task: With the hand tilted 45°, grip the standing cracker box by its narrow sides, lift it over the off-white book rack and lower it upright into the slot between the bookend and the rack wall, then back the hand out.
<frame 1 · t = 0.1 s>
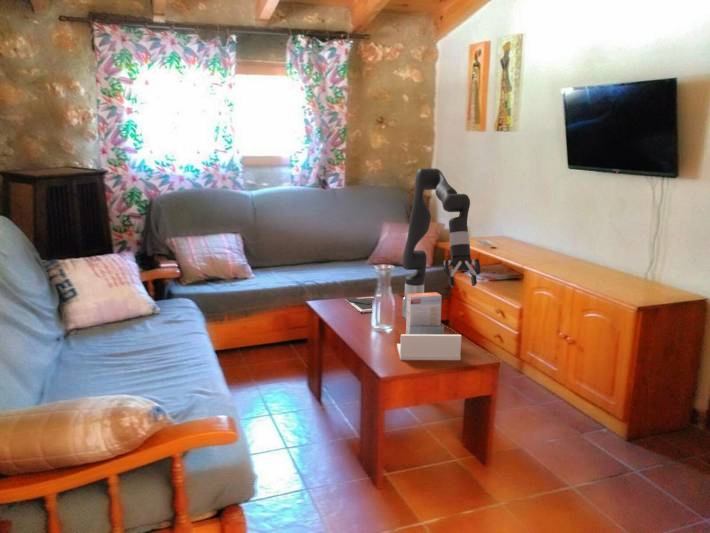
hand: (463, 286, 223), 31 cm above the table, tool tilted 20°, fingers open, 8 cm apart
bookend: (426, 335, 244), point 6 cm above the table
book rack: (427, 353, 240), on the table
cracker box: (422, 340, 254), on the table
picture frame: (366, 307, 301), on the table
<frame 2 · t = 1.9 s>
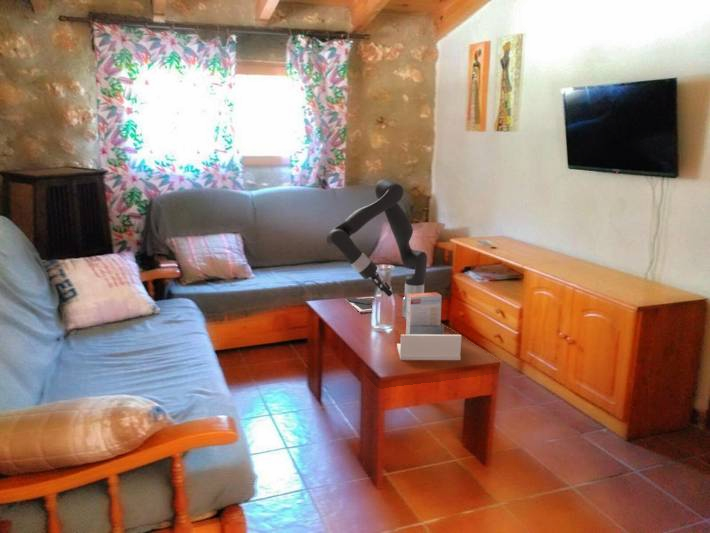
hand: (390, 292, 248), 22 cm above the table, tool tilted 45°, fingers open, 8 cm apart
nothing on the table moved.
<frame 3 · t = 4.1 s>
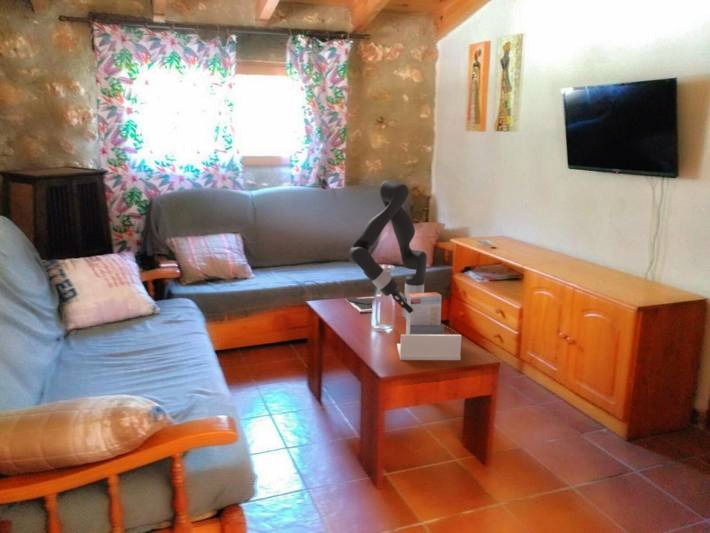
hand: (410, 308, 251), 14 cm above the table, tool tilted 45°, fingers open, 8 cm apart
cracker box: (422, 340, 254), on the table, touching gripper
everything else where it was.
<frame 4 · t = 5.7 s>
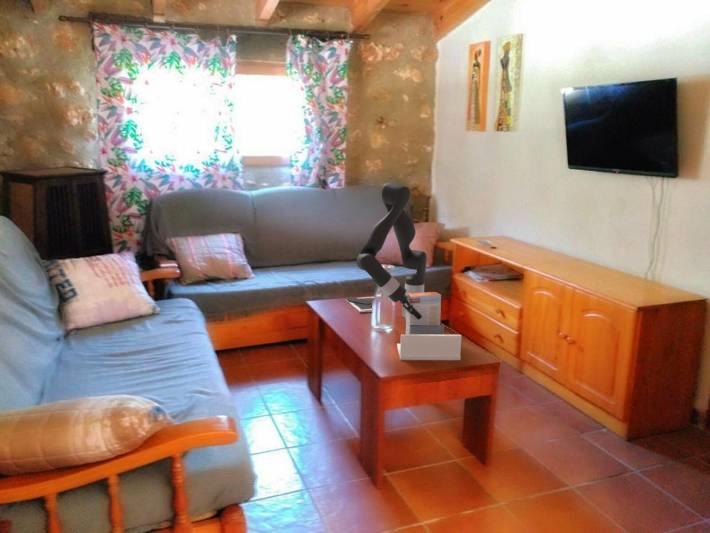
hand: (419, 315, 252), 11 cm above the table, tool tilted 45°, fingers closed on cracker box, 6 cm apart
cracker box: (422, 340, 254), on the table, touching gripper
everything else where it was.
when the fingers open (14 cm above the table, at t = 12.2 s): cracker box drops 1 cm, resting on book rack.
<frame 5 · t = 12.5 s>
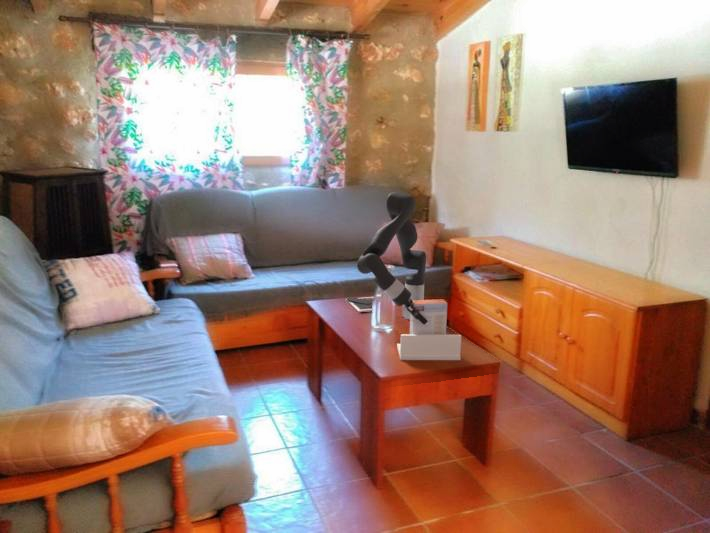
hand: (424, 319, 236), 15 cm above the table, tool tilted 45°, fingers open, 8 cm apart
cracker box: (426, 350, 240), point 1 cm above the table, touching book rack
everything else where it was.
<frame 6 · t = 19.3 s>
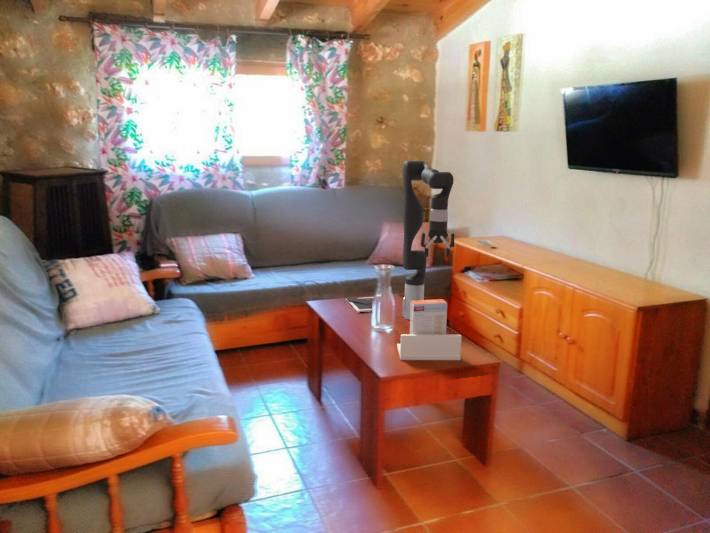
hand: (436, 256, 252), 36 cm above the table, tool pointing down, fingers open, 8 cm apart
nothing on the table moved.
at the end: cracker box 0.5 cm off-centre on the book rack, point 1.3 cm above the book rack's base; cracker box tilted 0°; the gripper is holding nothing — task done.
